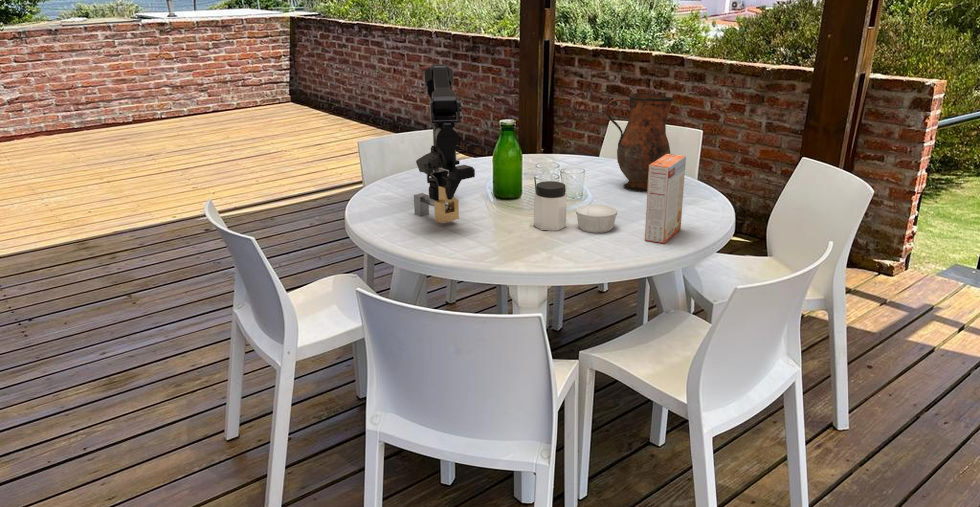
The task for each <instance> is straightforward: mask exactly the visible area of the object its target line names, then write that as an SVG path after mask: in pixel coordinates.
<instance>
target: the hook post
mask: <svg viewBox="0 0 980 507" xmlns="http://www.w3.org/2000/svg"><path fill="white" fill-rule="evenodd" d="M435 201H436V200H433V199H431V198H429V194H426V193H423V192H421V193H417V194H413V203H414V204H413V206H414V211H413V212H414V215H416V216H417V217H421V218H422V217H425V216H429V215H430V206H432V207H434V208H435ZM449 210H450V206H449V205H448V203H445V211H449Z"/></svg>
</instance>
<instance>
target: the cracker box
mask: <svg viewBox="0 0 980 507" xmlns="http://www.w3.org/2000/svg"><path fill="white" fill-rule="evenodd" d="M686 160H687V156H686V155H681V154H679V155H678V154H674V153H673V154H672V153H671V154H666V155H664V156H662V157H661V158H659V159H658V160H656V161H655V162H653V163H651V164H650V165H649V171H648V189H647V192H646V208H645V210H646V211H645V228H644V241H645V242H652V243H660V244H666V243H667V242H668V241H669V240H670V239H671V238H672V237H673V236H675V235H676V234H677V233H678V232H679V231H680V230H681V229H682V228H681V227H682V218H683V217H682V216H683V201H684V191H685V190H684V189H685V188H684V187H685V175H686V165H687V164H686V163H687V162H686Z"/></svg>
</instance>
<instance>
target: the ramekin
mask: <svg viewBox="0 0 980 507" xmlns="http://www.w3.org/2000/svg"><path fill="white" fill-rule="evenodd" d="M575 214H576V218H577V225H578V227H579V228H580V230H582V231H583V232H587V233H594V234H595V233H596V234H598V233H599V234H600V233H606V232H607V233H608V232H610V231H611V230H613V229H614V226H615V221H616V218H617V215H618V209H617V208H615V207H613V206H610V205H607V204H606V205H605V204H585V205H581V206H578V207H577V208H576V209H575Z"/></svg>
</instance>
